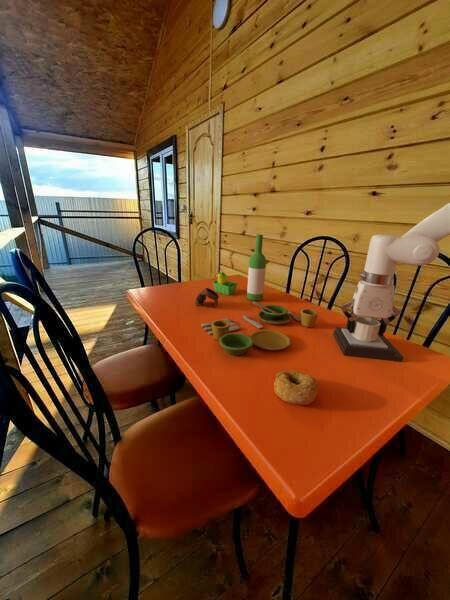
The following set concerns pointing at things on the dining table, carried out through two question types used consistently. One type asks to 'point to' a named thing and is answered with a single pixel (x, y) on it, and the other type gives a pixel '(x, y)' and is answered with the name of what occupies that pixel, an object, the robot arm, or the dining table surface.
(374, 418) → the dining table surface
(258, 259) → the wine bottle
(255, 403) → the dining table surface
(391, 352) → the scale
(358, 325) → the bowl
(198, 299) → the dark brown arch
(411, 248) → the robot arm
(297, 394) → the bagel
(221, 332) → the tableware set
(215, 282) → the fruit basket
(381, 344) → the weigh platform
